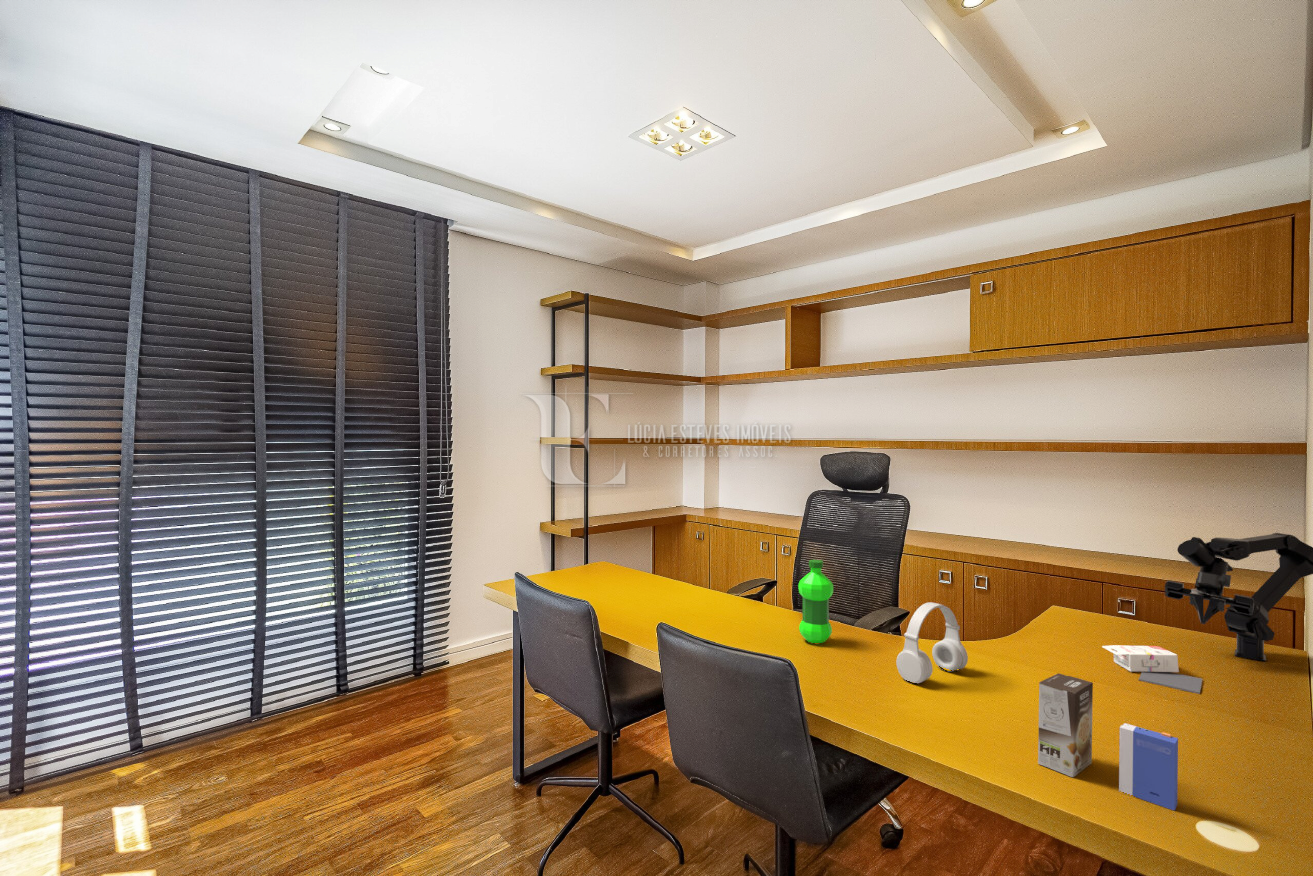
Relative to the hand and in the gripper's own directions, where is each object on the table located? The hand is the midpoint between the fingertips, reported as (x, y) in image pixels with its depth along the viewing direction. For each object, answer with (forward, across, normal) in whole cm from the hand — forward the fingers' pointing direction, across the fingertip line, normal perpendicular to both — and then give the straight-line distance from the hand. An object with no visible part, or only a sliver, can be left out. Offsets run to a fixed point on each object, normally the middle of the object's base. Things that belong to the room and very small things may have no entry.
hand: (1202, 623), depth 170 cm
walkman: (+68, +2, -60) cm, 91 cm away
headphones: (+53, -47, -36) cm, 80 cm away
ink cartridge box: (+14, -5, -1) cm, 15 cm away
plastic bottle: (+56, -83, -34) cm, 106 cm away
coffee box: (+68, -11, -58) cm, 89 cm away
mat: (+22, -4, -6) cm, 23 cm away
